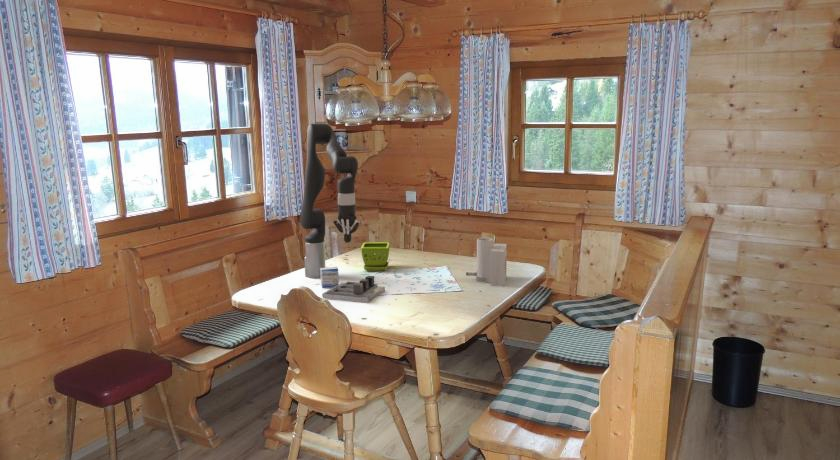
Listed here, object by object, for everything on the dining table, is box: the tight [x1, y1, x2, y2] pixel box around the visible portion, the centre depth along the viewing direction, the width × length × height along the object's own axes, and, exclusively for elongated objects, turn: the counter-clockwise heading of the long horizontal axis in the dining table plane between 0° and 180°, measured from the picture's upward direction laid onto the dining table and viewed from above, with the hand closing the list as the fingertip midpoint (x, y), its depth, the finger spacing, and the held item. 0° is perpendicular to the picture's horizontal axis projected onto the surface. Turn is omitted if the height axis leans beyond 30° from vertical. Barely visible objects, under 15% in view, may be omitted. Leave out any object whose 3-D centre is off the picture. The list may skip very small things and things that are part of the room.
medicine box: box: [320, 266, 340, 289], centre depth 289 cm, size 8×4×9 cm, turn 105°
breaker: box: [353, 283, 363, 294], centre depth 268 cm, size 3×3×5 cm
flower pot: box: [360, 241, 391, 272], centre depth 318 cm, size 14×14×13 cm
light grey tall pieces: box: [465, 237, 508, 287], centre depth 293 cm, size 16×19×20 cm
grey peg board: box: [321, 275, 386, 304], centre depth 275 cm, size 22×18×7 cm
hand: (347, 242), depth 272 cm, fingers closed
